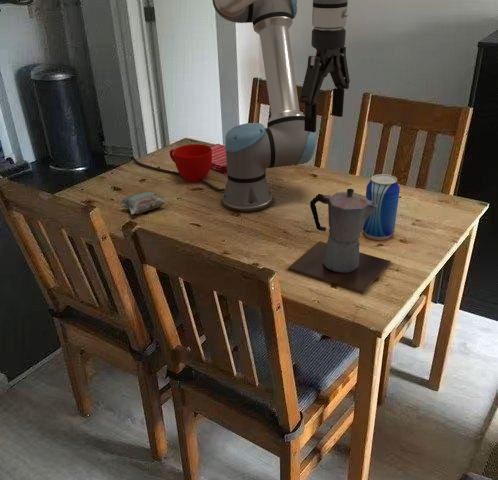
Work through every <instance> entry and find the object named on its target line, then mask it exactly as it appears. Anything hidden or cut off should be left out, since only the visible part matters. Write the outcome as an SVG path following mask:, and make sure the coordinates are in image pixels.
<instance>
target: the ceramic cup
mask: <svg viewBox="0 0 498 480" xmlns="http://www.w3.org/2000/svg"><path fill="white" fill-rule="evenodd" d="M169 156H170V159H171V160H172V162H173V163H174V164H175V166H176V170H177V172H178V173H180V174H181V175H180V176H181V177H182V178H183V179H184V180H185V181H187V182H189V183H199V182H200V181H199V180H200V179H201V180H204V181H205V178H206V177H207V176H208V174H209V173H210V171H211V169H212V168H211V164H212V149H211V147H209V145H206V144H200V143H190V144H184V145H181V146H178V147H176V148H172V149H170V151H169Z"/></svg>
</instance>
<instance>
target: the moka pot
mask: <svg viewBox="0 0 498 480" xmlns="http://www.w3.org/2000/svg"><path fill="white" fill-rule="evenodd" d="M318 202H321V203H322V204H324V205H327V211H328V212H327V213H328V233H329V235H328V237H327V241H326V243H327V245H326V249H325V252H324V256H323V260H322V261H323V264H324V265H325V267H326V268H328V269H330V270H332V271H335V272H342V273H347V272H351V271H354V270H356V269H357V267H358V266H359V252H360V236H361V233H362V232H363V227H364V224H365V221H366V220H367V218H368V217H369V215H370V214H371V212H372V211H373V210H374V208H376V207H377V205H376V203H374V202H373V201H370V200H368V199H367V198H366V195H363V194H360V193H358V192H357V193H356V192H355V190H354V189H353V188H347V189H346V191H343V192H335V193H334V194H332V195H330V194H321V193H318V194H317V195H315V197H313V198H312V200H310V201H309V208H310V210H311V213H312V214H311V215H312V216H313V220H314V224H315V228H316V230H317V231H321V232H326V231H327V227H326V226H321V223H320V221H319V219H320V218H319V215H318V214H319V213H318V209H317V205H316V203H318Z"/></svg>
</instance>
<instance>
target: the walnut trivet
mask: <svg viewBox="0 0 498 480" xmlns="http://www.w3.org/2000/svg"><path fill="white" fill-rule="evenodd" d="M326 245H327V242H325V241H318V242H316V244H314V245H313V246H312V247H310V249H308V250H307V251H306V252H304V254H302V255H301V256H300V257H298V258H297V259H296V260H295V261H294V262H293V263H292V264H291V265H289V266H288V268H287V269H288V271H289V272H293V273H295V274H299V275H302V276H306V277H309V278H312V279H315V280H318V281H321V282H325V283H327V284H330V285H334V286H337V287H340V288H343V289H346V290H350V291H352V292H356V293H359V294H362V295H363V294H364V293H365V292H366V291H367V290H368V288H369V287H370V286H371V285H372V284H373V283H374V282H375V281H376V280H377V279H378V278H379V277H380V276H381V275H382V273H384V271H386V269H387V268H388V267H389V266H390V264H391V260H388V259H384V258H381V257H377V256H374V255H371V254H366V253H364V252H360V251H359V266H358V267H357V269H356V270H354V271H351V272H347V273H342V272H335V271H332V270H330V269H328V268H326V267H325V265H324V264H323V261H322V260H323V256H324V252H325V249H326Z"/></svg>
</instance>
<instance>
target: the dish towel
mask: <svg viewBox="0 0 498 480" xmlns="http://www.w3.org/2000/svg"><path fill="white" fill-rule="evenodd" d="M208 146H209V145H208ZM209 147H211V149H212V164H211V168H210V169H212V170H214V171H217V172H219V173H221V174H225V173H226V174H227V162H226V150H225V145H223V144H221V143H216V144H213V145H210V146H209Z"/></svg>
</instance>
